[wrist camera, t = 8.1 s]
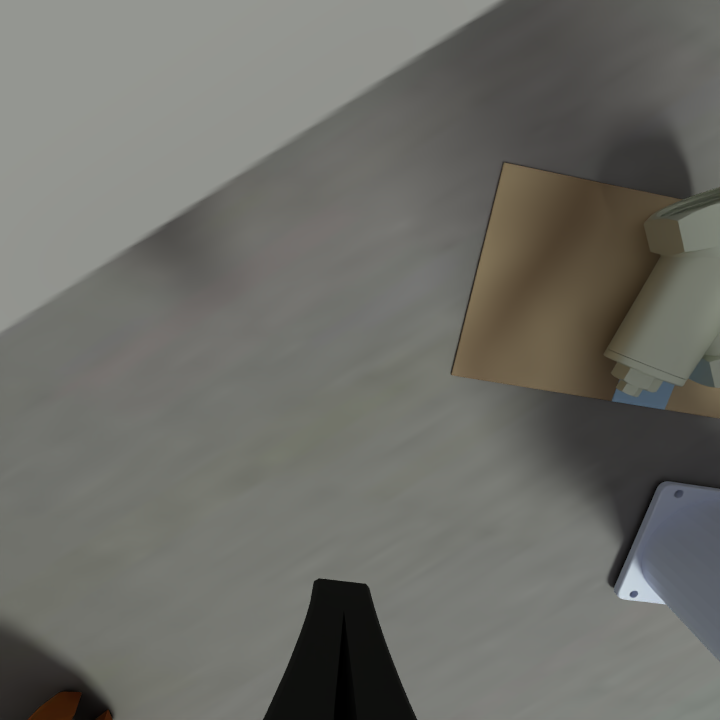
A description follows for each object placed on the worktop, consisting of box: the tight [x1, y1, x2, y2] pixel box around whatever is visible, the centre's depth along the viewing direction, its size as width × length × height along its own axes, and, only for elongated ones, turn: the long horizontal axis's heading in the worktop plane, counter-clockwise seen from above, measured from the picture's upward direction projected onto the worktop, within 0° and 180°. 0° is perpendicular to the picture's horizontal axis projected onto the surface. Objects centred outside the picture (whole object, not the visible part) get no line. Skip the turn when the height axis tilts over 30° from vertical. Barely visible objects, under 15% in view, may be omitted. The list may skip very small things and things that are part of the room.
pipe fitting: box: [604, 187, 720, 397], centre depth 16 cm, size 8×4×7 cm
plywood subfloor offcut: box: [451, 163, 720, 418], centre depth 18 cm, size 20×10×1 cm, turn 80°
